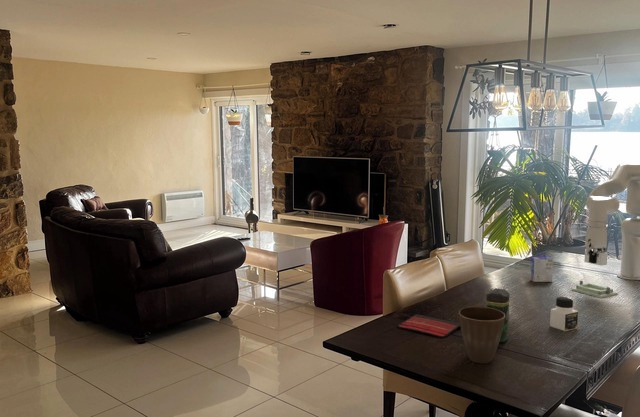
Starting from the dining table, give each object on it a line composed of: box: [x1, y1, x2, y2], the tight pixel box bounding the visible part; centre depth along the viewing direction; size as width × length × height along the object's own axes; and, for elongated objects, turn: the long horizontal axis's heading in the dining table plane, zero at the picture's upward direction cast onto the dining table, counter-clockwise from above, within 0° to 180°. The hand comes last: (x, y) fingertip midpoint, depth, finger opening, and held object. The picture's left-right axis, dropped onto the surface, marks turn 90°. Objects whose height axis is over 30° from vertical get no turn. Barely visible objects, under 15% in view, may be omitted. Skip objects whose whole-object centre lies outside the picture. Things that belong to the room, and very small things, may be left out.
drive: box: [584, 249, 608, 266], centre depth 266 cm, size 4×9×6 cm, turn 27°
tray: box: [570, 280, 619, 299], centre depth 268 cm, size 12×16×4 cm
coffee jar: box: [485, 288, 511, 343], centre depth 206 cm, size 10×8×19 cm
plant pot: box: [458, 306, 505, 364], centre depth 187 cm, size 15×15×16 cm
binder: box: [397, 313, 461, 339], centre depth 220 cm, size 16×2×21 cm
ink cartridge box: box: [530, 252, 554, 283], centre depth 290 cm, size 10×6×14 cm, turn 89°
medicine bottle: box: [549, 295, 579, 332], centre depth 218 cm, size 7×7×12 cm
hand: (595, 261), depth 266 cm, fingers closed on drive, 4 cm apart
